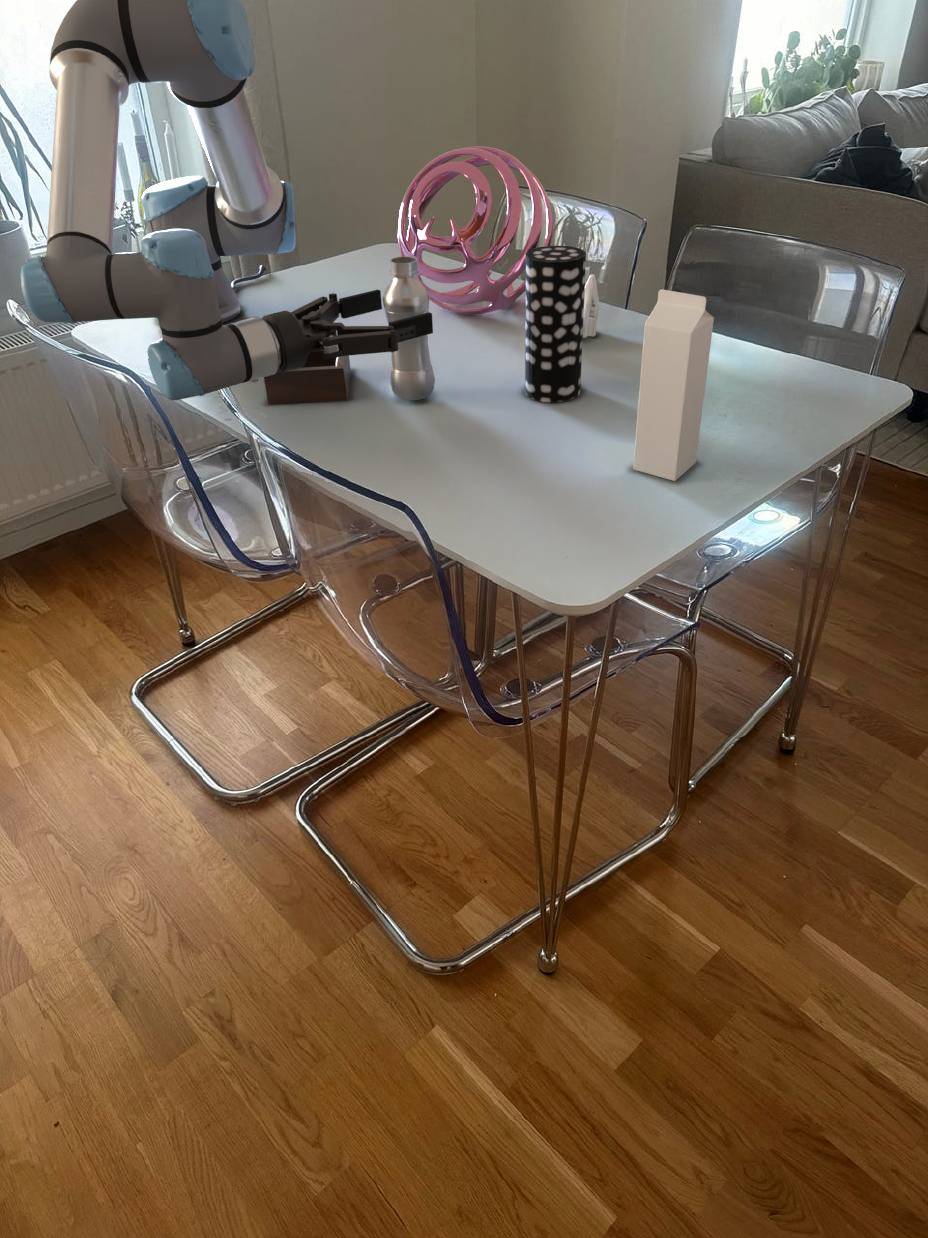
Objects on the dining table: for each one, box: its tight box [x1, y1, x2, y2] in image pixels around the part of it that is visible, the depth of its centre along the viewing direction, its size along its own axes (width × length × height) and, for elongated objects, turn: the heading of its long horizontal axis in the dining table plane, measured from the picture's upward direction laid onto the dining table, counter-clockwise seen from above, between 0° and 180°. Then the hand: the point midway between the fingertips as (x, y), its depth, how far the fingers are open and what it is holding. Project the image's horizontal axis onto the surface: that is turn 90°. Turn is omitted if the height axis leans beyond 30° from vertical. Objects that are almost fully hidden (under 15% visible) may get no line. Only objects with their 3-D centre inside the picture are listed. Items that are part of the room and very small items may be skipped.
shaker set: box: [583, 273, 600, 339], centre depth 152 cm, size 12×4×11 cm, turn 133°
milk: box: [632, 288, 715, 482], centre depth 111 cm, size 6×6×22 cm
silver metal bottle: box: [382, 256, 436, 401], centre depth 133 cm, size 6×7×20 cm
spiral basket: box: [397, 145, 554, 316], centre depth 165 cm, size 28×28×27 cm
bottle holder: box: [263, 352, 351, 405], centre depth 142 cm, size 12×12×5 cm
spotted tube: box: [524, 245, 587, 403], centre depth 133 cm, size 8×8×20 cm
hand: (404, 310), depth 131 cm, fingers open, 13 cm apart
